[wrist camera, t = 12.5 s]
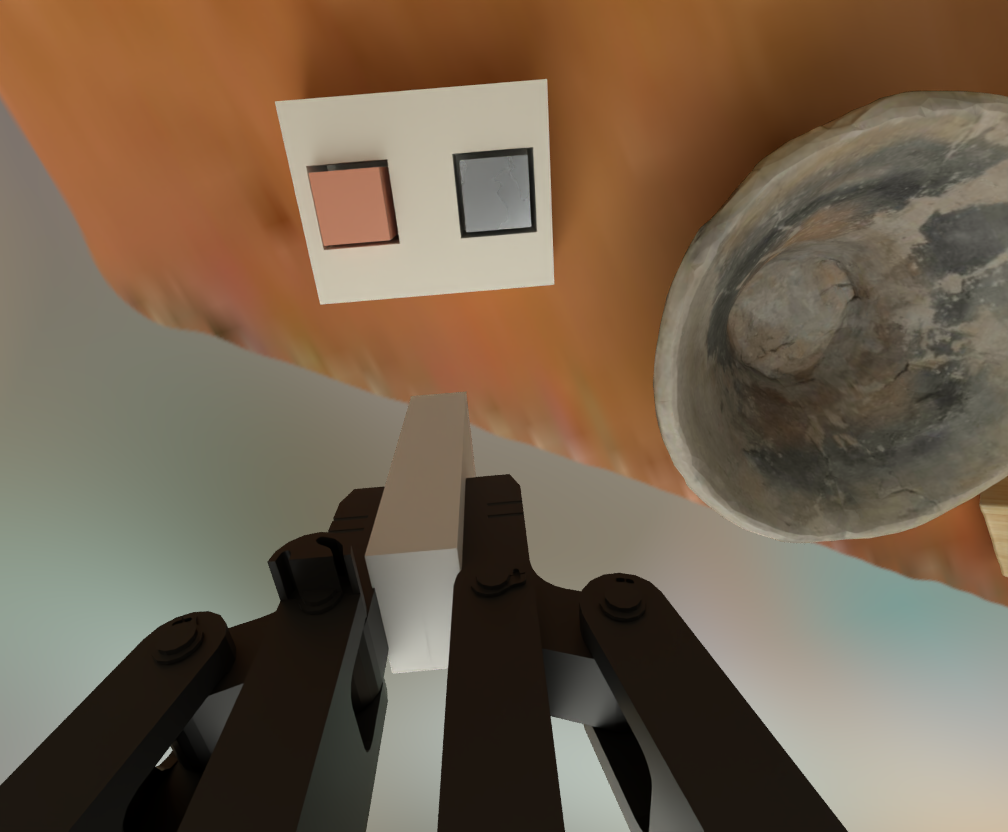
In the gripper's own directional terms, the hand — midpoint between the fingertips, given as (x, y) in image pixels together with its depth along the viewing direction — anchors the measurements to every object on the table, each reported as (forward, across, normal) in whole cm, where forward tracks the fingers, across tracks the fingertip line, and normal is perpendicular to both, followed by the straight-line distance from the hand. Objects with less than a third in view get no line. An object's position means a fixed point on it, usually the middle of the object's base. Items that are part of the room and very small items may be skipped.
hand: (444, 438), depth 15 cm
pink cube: (+27, -6, +5) cm, 28 cm away
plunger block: (+29, -2, +5) cm, 30 cm away
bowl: (+30, +24, -5) cm, 39 cm away
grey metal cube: (+28, +2, +5) cm, 28 cm away
